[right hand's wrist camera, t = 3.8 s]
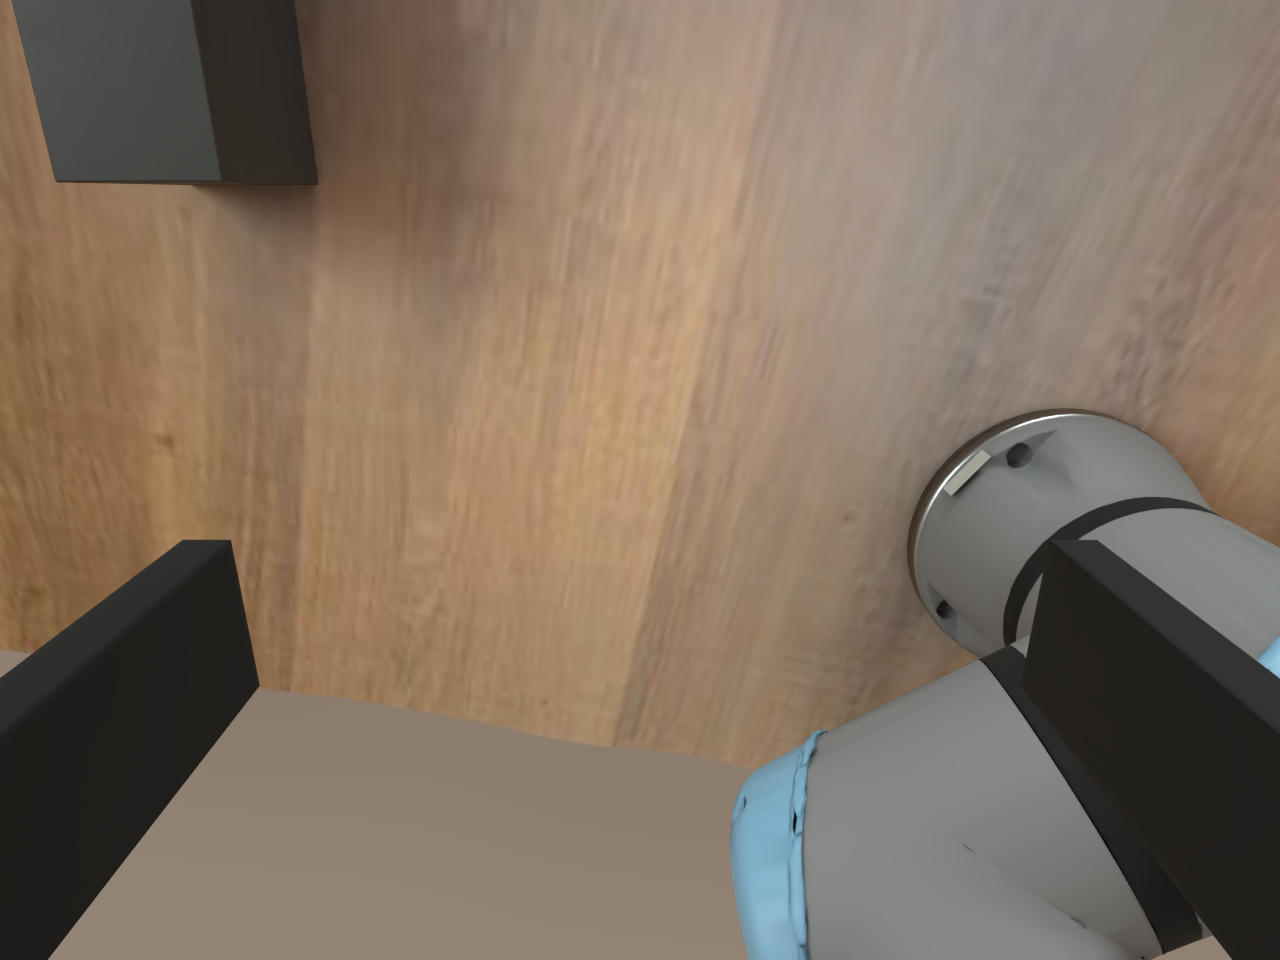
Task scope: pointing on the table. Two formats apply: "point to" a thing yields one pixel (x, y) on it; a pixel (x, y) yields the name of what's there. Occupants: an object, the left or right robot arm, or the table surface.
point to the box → (169, 91)
